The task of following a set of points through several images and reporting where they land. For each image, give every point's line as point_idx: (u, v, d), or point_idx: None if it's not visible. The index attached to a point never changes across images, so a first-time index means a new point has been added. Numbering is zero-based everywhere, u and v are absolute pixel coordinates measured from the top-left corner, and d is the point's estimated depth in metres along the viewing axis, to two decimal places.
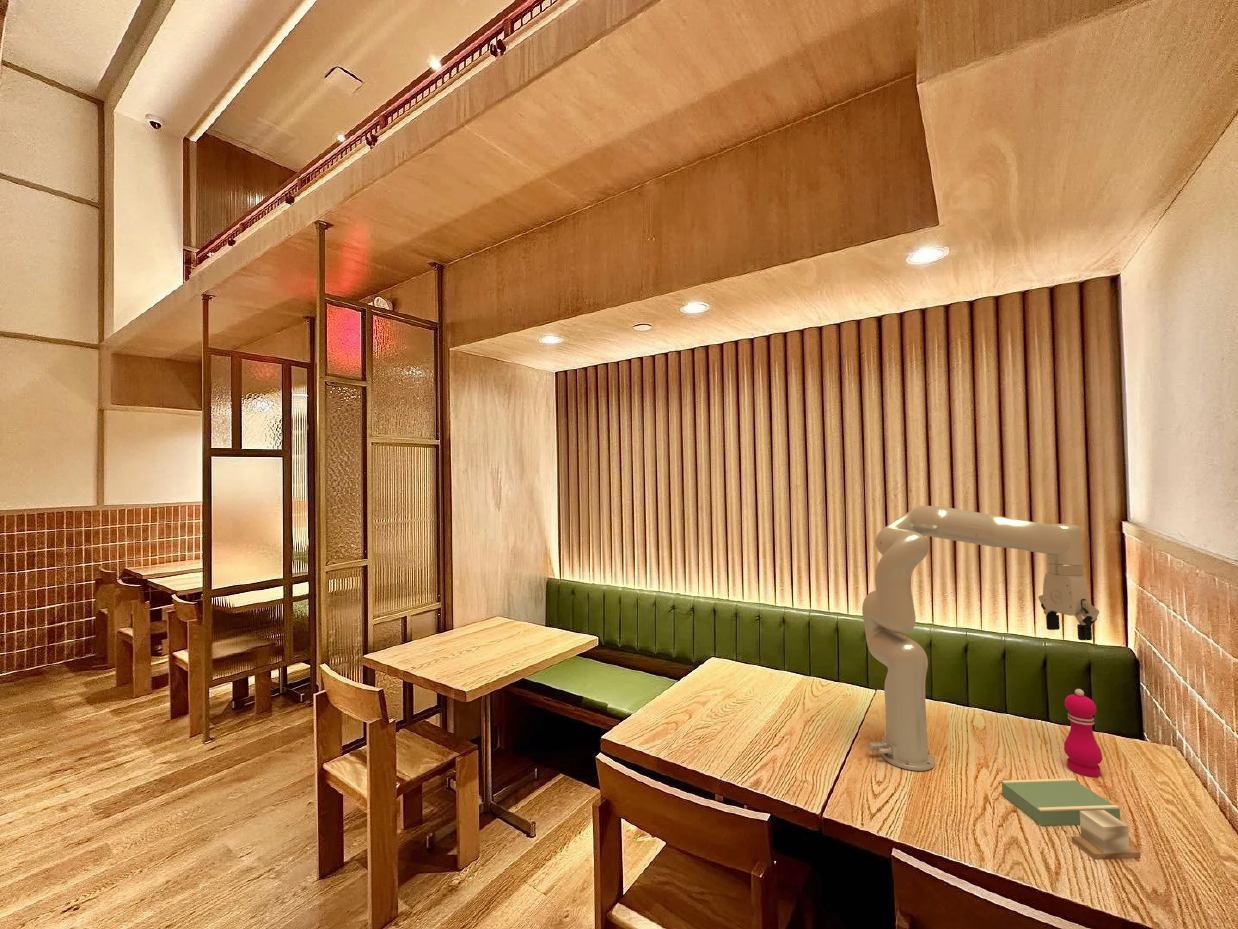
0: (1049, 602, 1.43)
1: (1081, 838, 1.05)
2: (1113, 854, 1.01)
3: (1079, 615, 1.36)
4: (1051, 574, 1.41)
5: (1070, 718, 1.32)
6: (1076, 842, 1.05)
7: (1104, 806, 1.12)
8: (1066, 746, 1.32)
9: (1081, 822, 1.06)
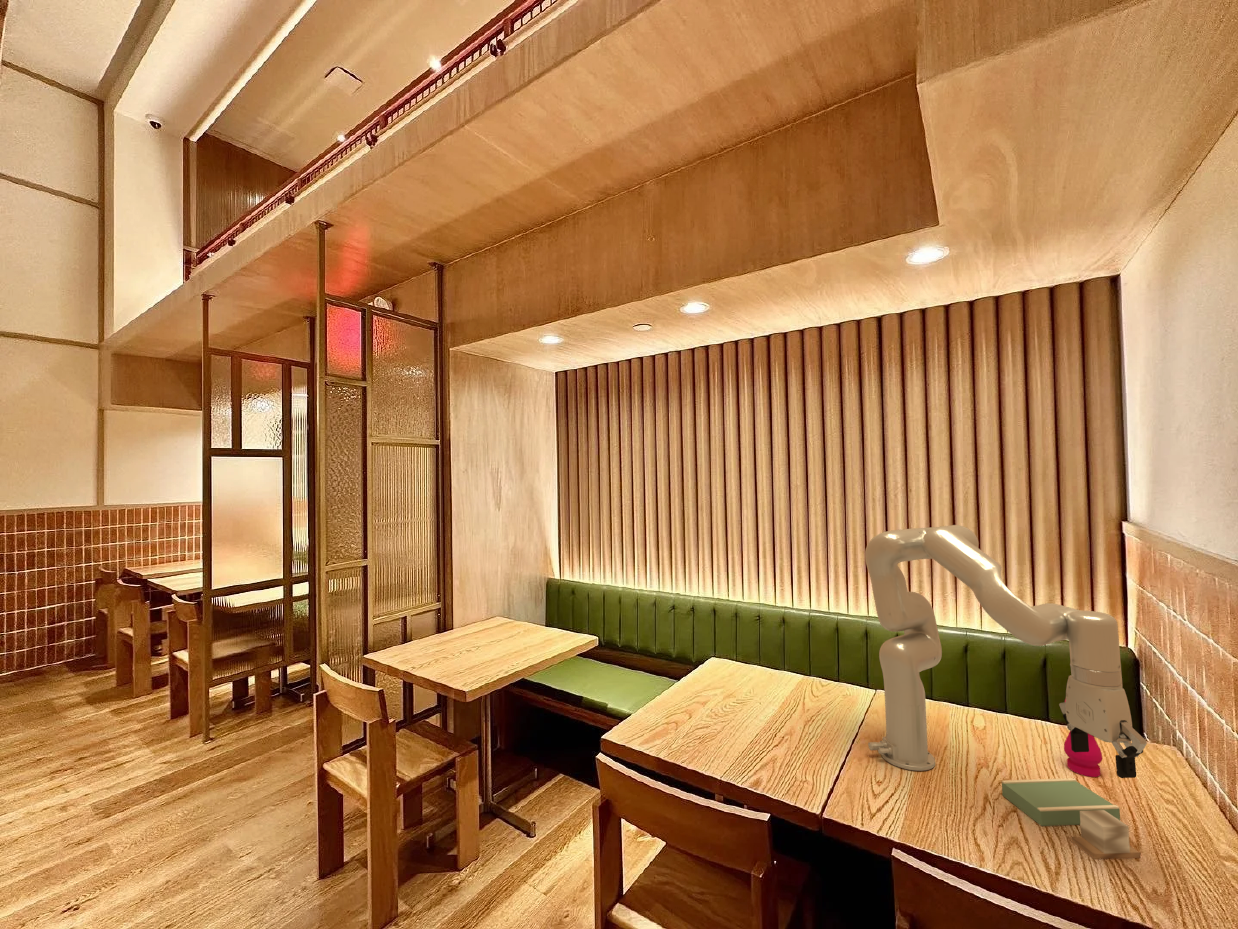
0: (1075, 717, 1.07)
1: (1081, 838, 1.05)
2: (1113, 854, 1.01)
3: (1118, 743, 0.99)
4: (1077, 681, 1.05)
5: None
6: (1076, 842, 1.05)
7: (1104, 806, 1.12)
8: (1066, 746, 1.32)
9: (1081, 822, 1.06)
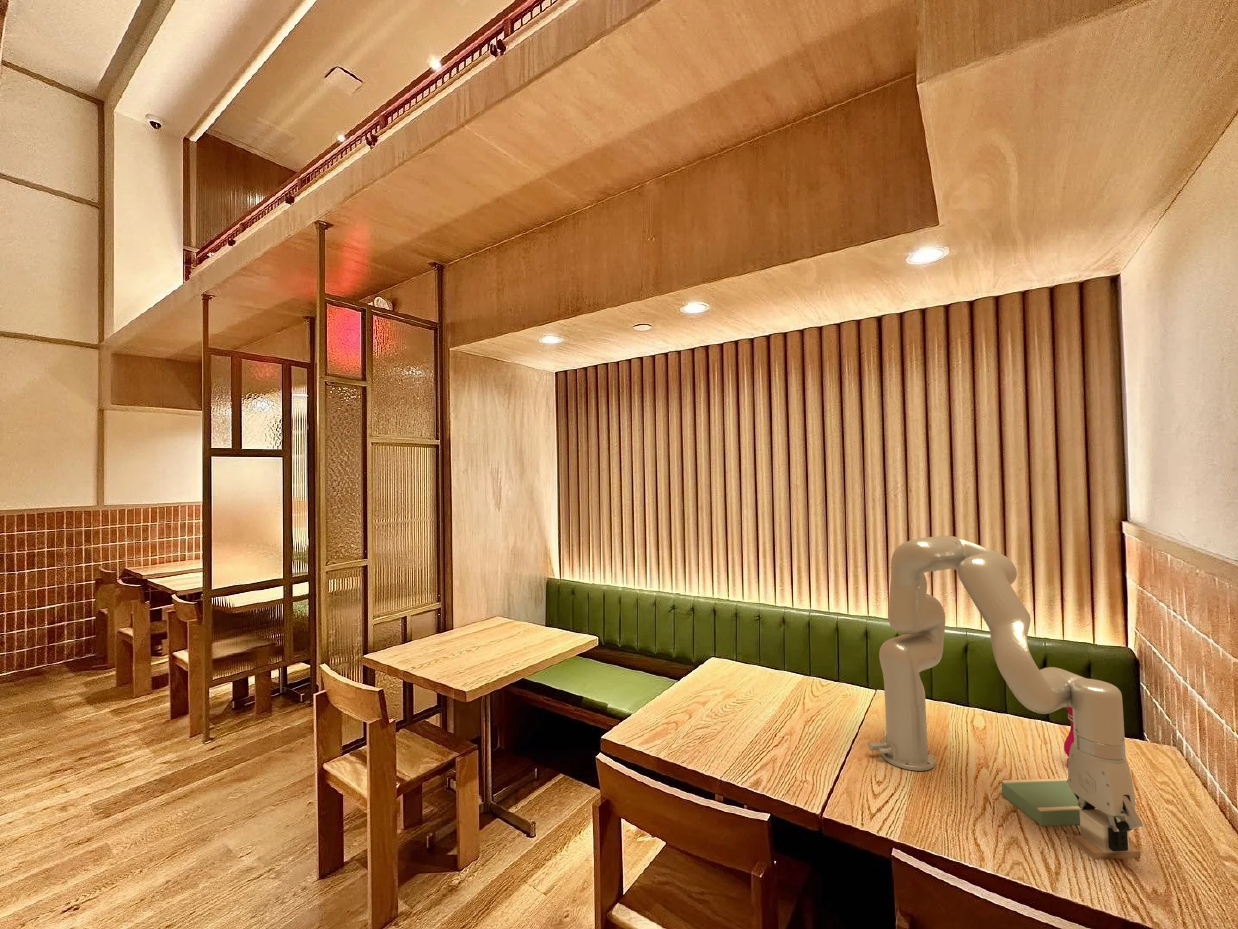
0: (1077, 786, 1.06)
1: (1081, 837, 1.06)
2: (1113, 853, 1.01)
3: (1114, 818, 1.00)
4: (1080, 751, 1.04)
5: (1070, 718, 1.32)
6: (1076, 841, 1.05)
7: None
8: (1066, 746, 1.32)
9: (1081, 821, 1.06)
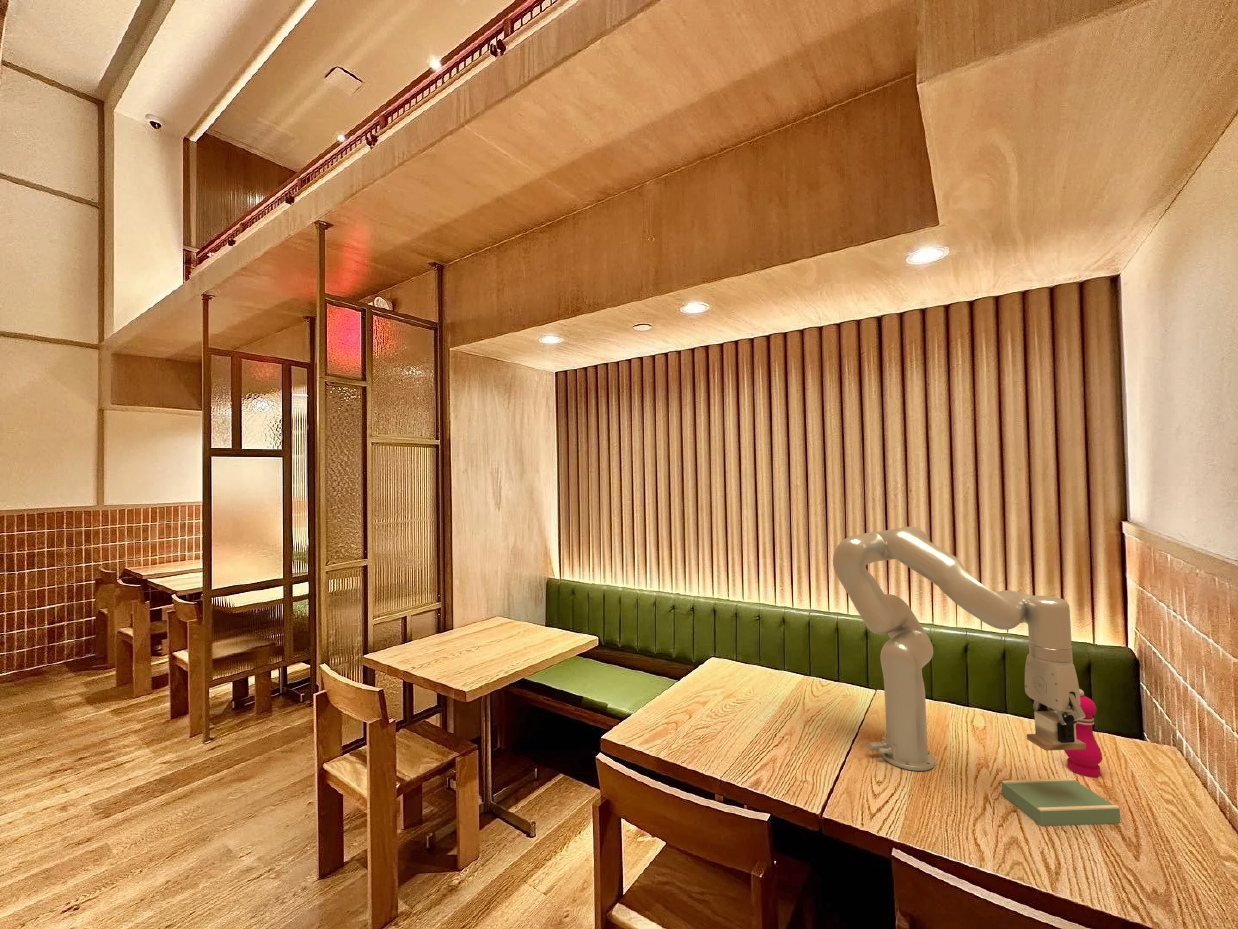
0: (1032, 690, 1.20)
1: (1035, 734, 1.19)
2: (1062, 745, 1.15)
3: (1062, 713, 1.14)
4: (1034, 658, 1.18)
5: None
6: (1031, 738, 1.18)
7: (1104, 806, 1.12)
8: None
9: (1035, 721, 1.19)
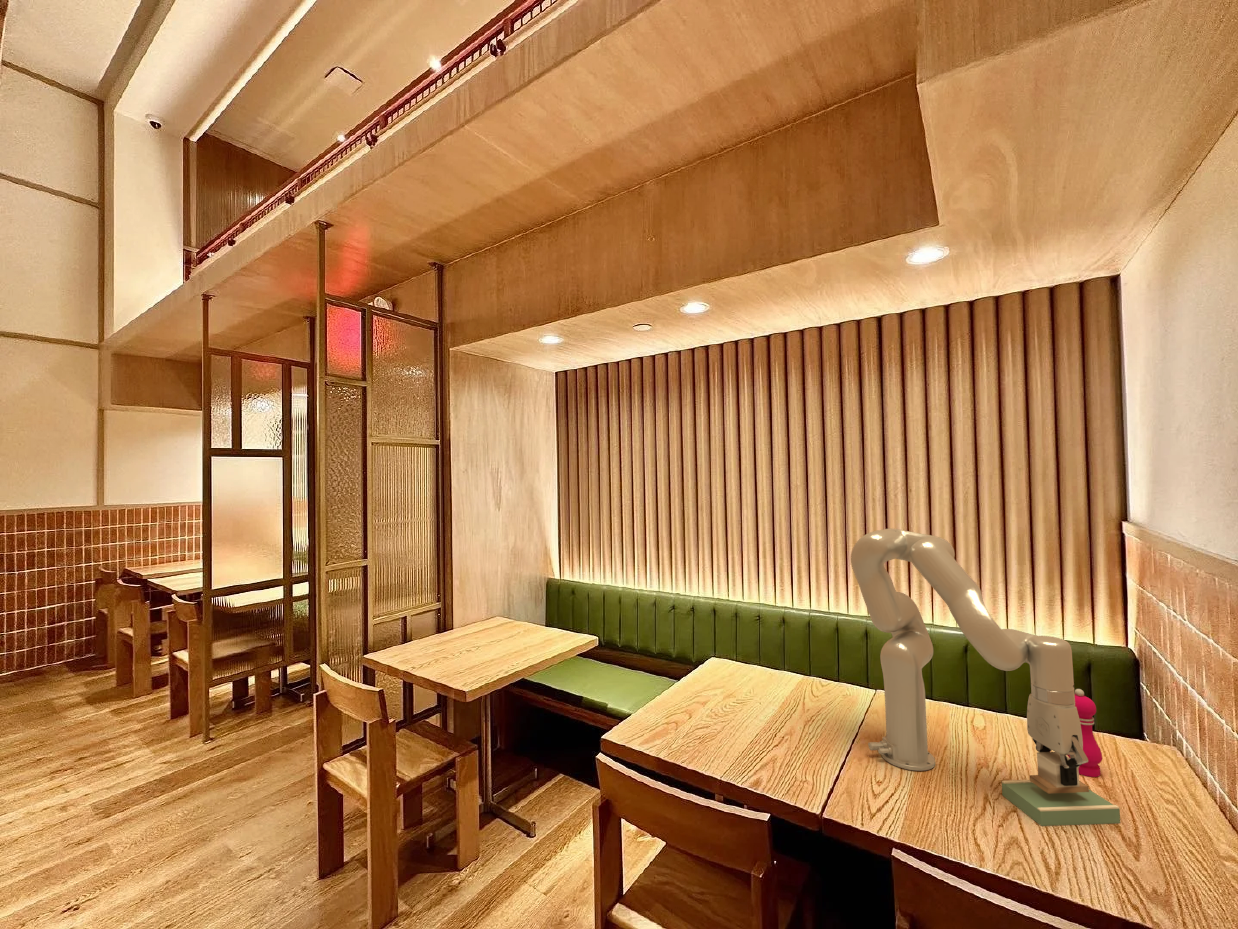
0: (1034, 731, 1.19)
1: (1038, 776, 1.19)
2: (1064, 788, 1.14)
3: (1065, 756, 1.13)
4: (1036, 699, 1.17)
5: None
6: (1033, 779, 1.18)
7: (1104, 806, 1.12)
8: None
9: (1038, 762, 1.19)
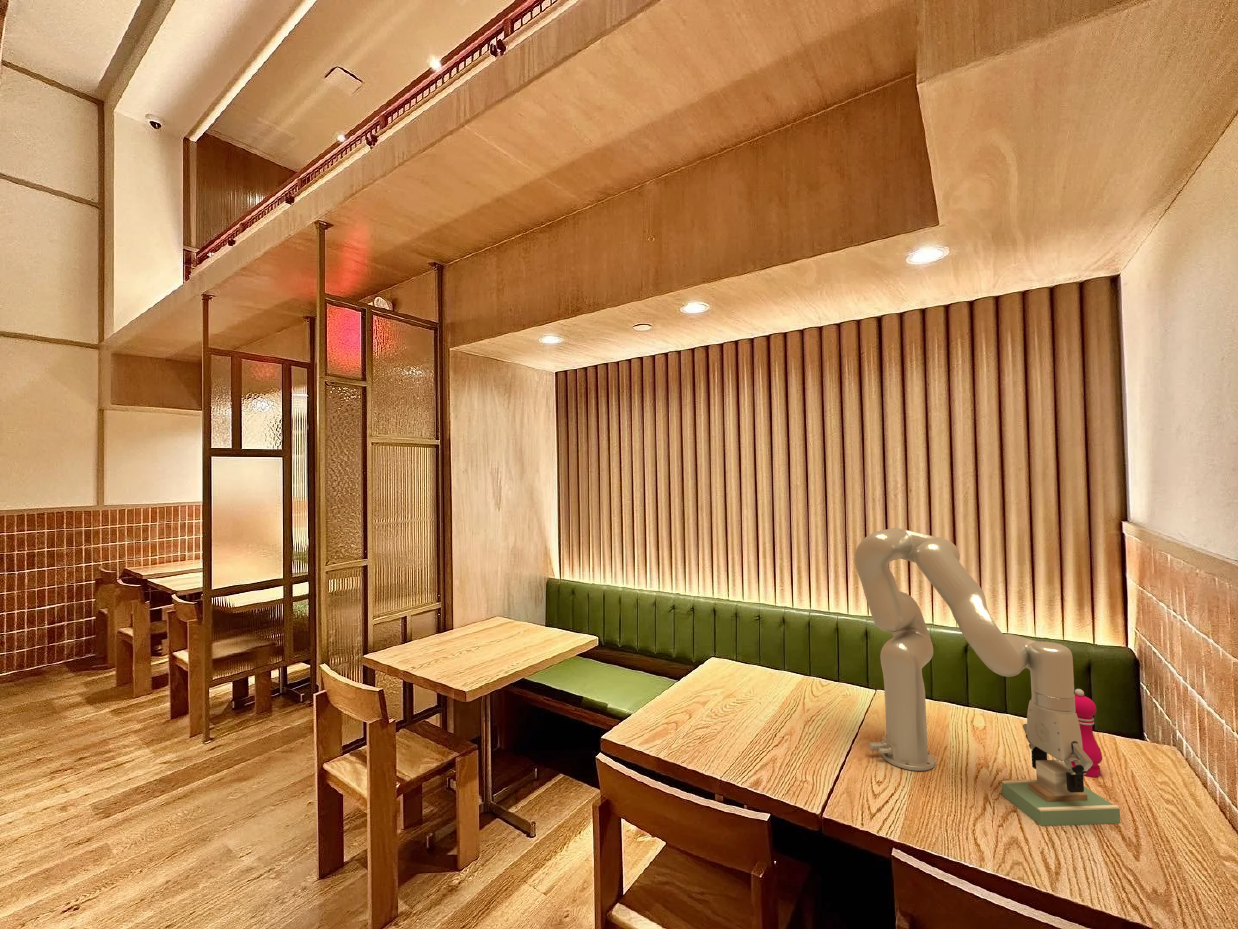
0: (1034, 737, 1.19)
1: (1037, 784, 1.19)
2: (1063, 796, 1.14)
3: (1069, 761, 1.12)
4: (1036, 705, 1.17)
5: None
6: (1032, 788, 1.18)
7: (1104, 806, 1.12)
8: None
9: (1037, 770, 1.19)
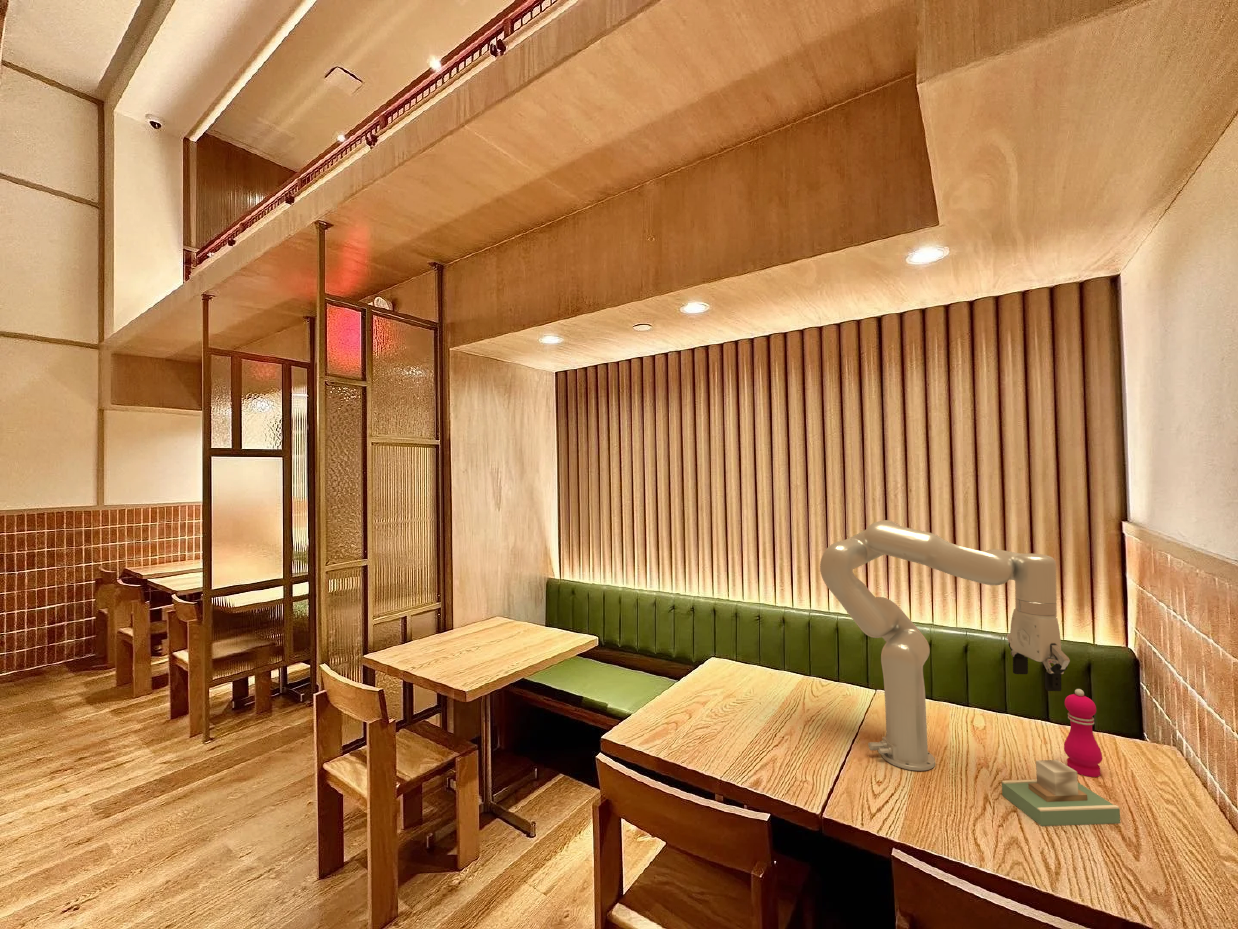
0: (1016, 643, 1.24)
1: (1037, 784, 1.19)
2: (1063, 796, 1.14)
3: (1047, 662, 1.17)
4: (1019, 612, 1.22)
5: (1070, 718, 1.32)
6: (1032, 788, 1.18)
7: (1104, 806, 1.12)
8: (1066, 746, 1.32)
9: (1037, 770, 1.19)
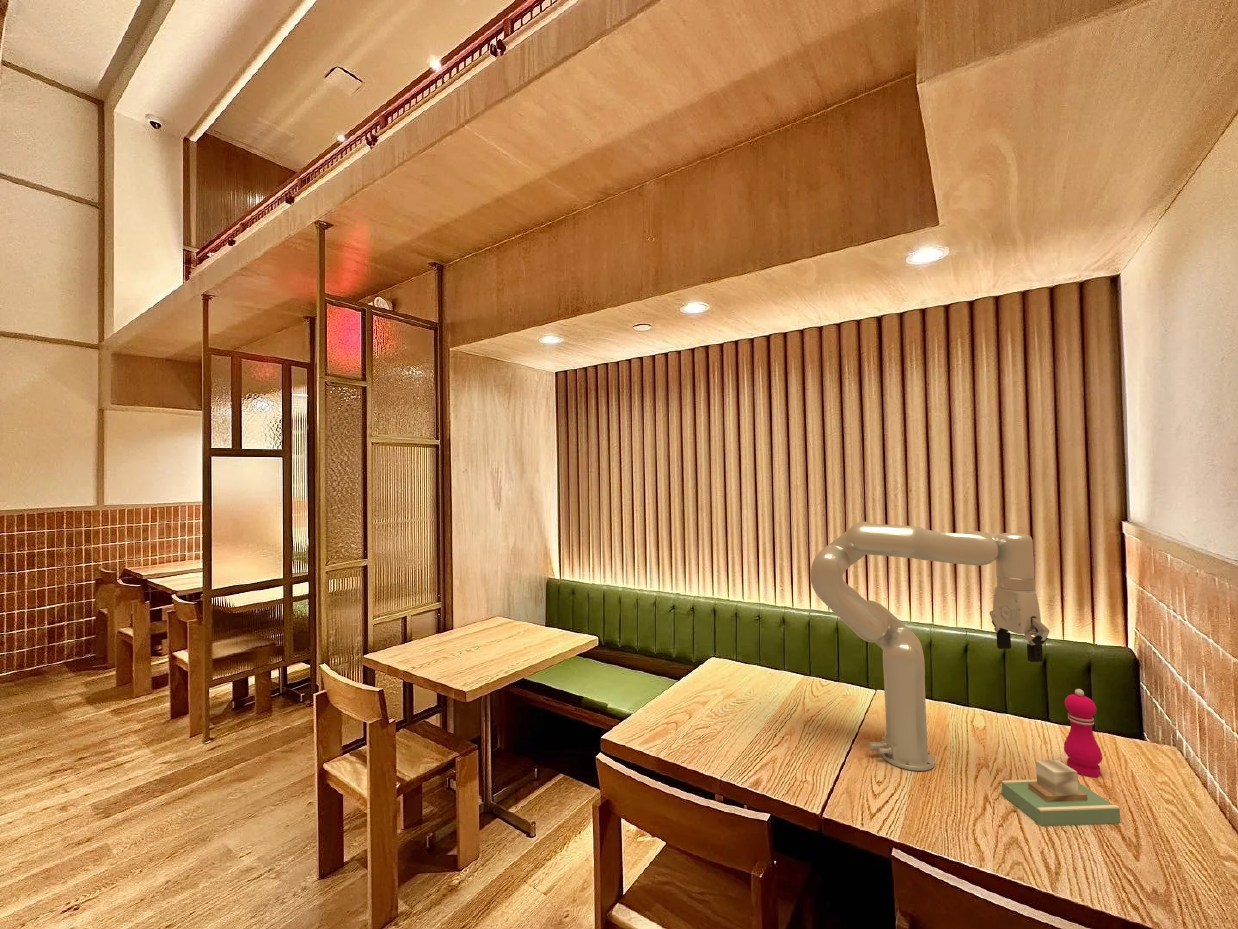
0: (999, 619, 1.31)
1: (1037, 784, 1.19)
2: (1063, 796, 1.14)
3: (1029, 634, 1.24)
4: (1000, 588, 1.29)
5: (1070, 718, 1.32)
6: (1032, 788, 1.18)
7: (1104, 806, 1.12)
8: (1066, 746, 1.32)
9: (1037, 770, 1.19)
